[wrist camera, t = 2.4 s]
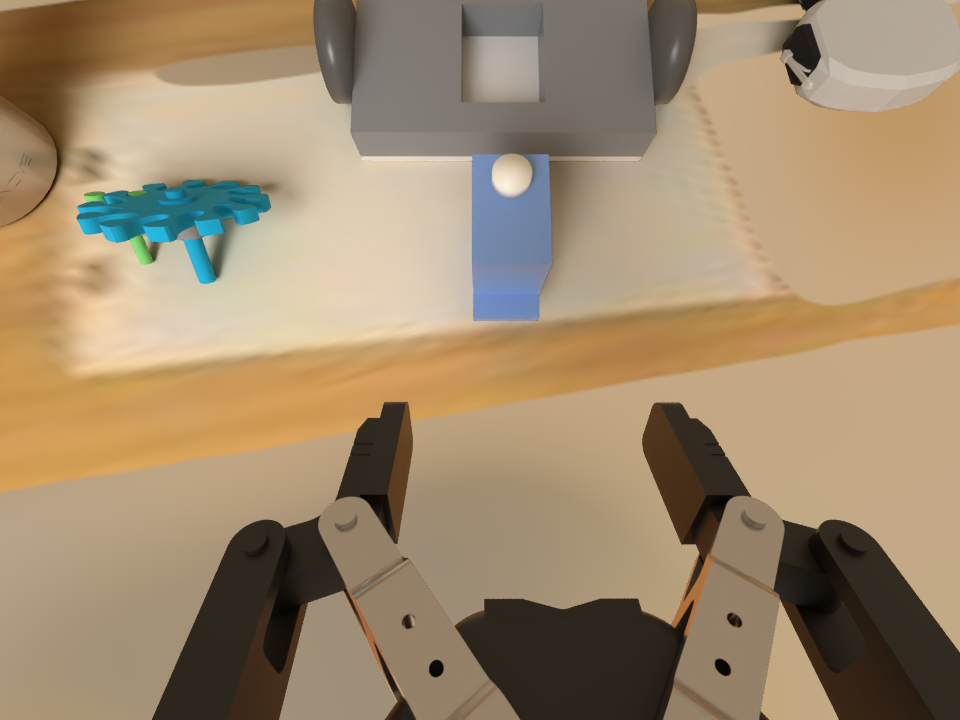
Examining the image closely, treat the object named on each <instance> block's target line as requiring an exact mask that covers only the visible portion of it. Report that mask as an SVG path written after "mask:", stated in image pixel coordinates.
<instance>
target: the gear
mask: <svg viewBox="0 0 960 720" xmlns="http://www.w3.org/2000/svg"><path fill="white" fill-rule="evenodd" d="M142 187H143V190H144V191H133V192H128V191H116V192H111V193H107V194H105V192H90V193H86V194H84V196H85V198H86V201H87V203H84V204H81V205H79V206H77V208H78V210H79V212H80V214H79V215H77V221H78V223H79V224H80V226H81V228H82V230H83V232H84V234H97V233H101V232H103V234H104V236H105V238H106V239H107V240H109V241H112V242H116V243H118V242H123V241H127V240H130V241H131V243H132V245H133V247H134V249H135V252H136V254H137V256H138V258H139V260H140V262H141V264H151V263H153V262H154V261H153V259H152V256H151V254H150V252H149V250H148V247H147V245H146V243H145V240H144V238H143V236H142V235H145V236H147V237H148V239H149V241H150V242H172V241H174V240H176V239H177V240H184V243H185V246H186V248H187V251H188V253H189V256H190V259H191V261H192V264H193V266H194V269H195V272H196V274H197V277H198V279H199V282H200V283H202V284H207V283H212V282H214V281H216V276H215V273H214V271H213V268H212V265H211V262H210V259H209V257H208V254H207V251H206V248H205V245H204V243H203V240H202V237H204V236H208V235H215V234H221V233H224V232H225V228H224V225H223V222H222V219H224V218H234V219H235V222H236V223H237V224H240V225H245V224H249V223H253V222H256V221H258V220H259V216H258V213H262V212H266V211H268V210H269V209H270V208H271V205H270V201H269V197H268V194H261V192H260V188H259V186H257V185H250V186H245V187H240V186H239V183H238V182H235V181H229V180H228V181H222V182H219V183H217V184H214V185H210V186H206V183H205V181H202V180H188V181H185V182H183V185H181V186H179V187H176V188H169V189H167V187H166V184H164V183H162V184H149V185H143V186H142Z"/></svg>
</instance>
